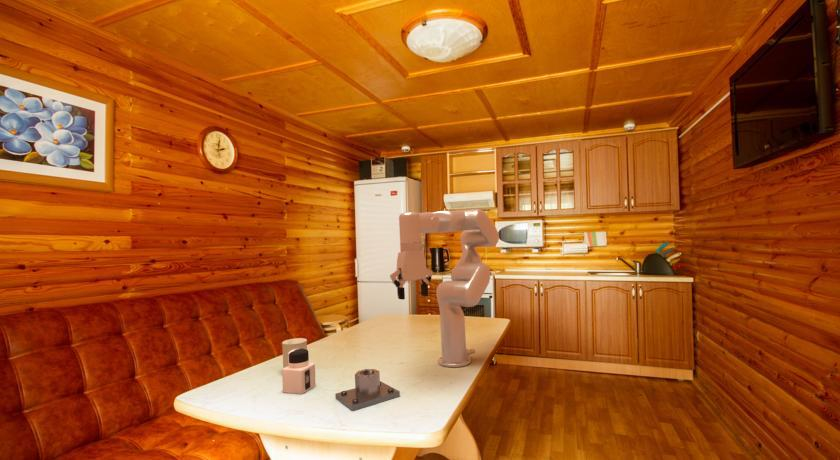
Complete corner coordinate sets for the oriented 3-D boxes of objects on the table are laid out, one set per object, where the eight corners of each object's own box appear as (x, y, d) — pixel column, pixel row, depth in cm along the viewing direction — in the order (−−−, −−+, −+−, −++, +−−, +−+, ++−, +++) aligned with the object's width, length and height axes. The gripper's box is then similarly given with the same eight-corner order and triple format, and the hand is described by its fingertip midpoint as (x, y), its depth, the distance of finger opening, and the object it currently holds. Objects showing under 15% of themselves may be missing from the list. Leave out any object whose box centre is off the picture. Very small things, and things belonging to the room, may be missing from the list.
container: (316, 385, 132) (314, 347, 132) (302, 394, 125) (300, 353, 125) (297, 384, 134) (295, 346, 135) (282, 392, 127) (281, 352, 127)
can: (277, 374, 146) (276, 342, 146) (294, 366, 155) (293, 336, 155) (297, 376, 143) (296, 343, 143) (313, 368, 151) (311, 337, 152)
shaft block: (380, 385, 129) (379, 365, 129) (399, 396, 119) (398, 374, 120) (335, 398, 120) (334, 376, 120) (352, 411, 110) (351, 387, 110)
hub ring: (372, 386, 125) (371, 367, 125) (383, 392, 119) (382, 372, 119) (352, 392, 121) (351, 372, 121) (363, 398, 115) (362, 378, 115)
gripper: (424, 247, 143) (426, 293, 142) (384, 249, 133) (386, 299, 132) (437, 246, 136) (439, 295, 136) (395, 248, 126) (397, 301, 126)
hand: (413, 297), depth 134 cm, fingers open, 9 cm apart
